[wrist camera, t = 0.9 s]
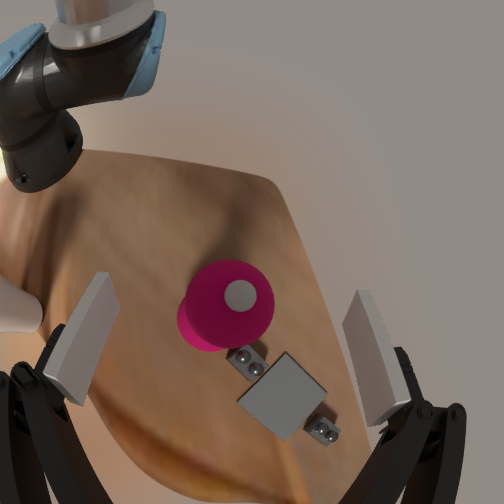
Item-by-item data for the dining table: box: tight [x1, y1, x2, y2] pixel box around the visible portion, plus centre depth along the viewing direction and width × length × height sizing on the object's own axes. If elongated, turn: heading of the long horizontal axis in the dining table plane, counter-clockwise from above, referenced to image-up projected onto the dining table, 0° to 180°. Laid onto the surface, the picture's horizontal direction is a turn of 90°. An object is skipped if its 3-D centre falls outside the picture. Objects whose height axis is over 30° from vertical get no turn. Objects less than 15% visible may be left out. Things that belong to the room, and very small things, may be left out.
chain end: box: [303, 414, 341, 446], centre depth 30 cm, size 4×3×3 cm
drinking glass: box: [0, 275, 43, 334], centre depth 19 cm, size 7×7×15 cm
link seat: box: [237, 353, 327, 441], centre depth 31 cm, size 9×9×1 cm
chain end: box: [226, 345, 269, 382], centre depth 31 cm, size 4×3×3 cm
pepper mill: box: [177, 260, 275, 352], centre depth 23 cm, size 7×7×20 cm
